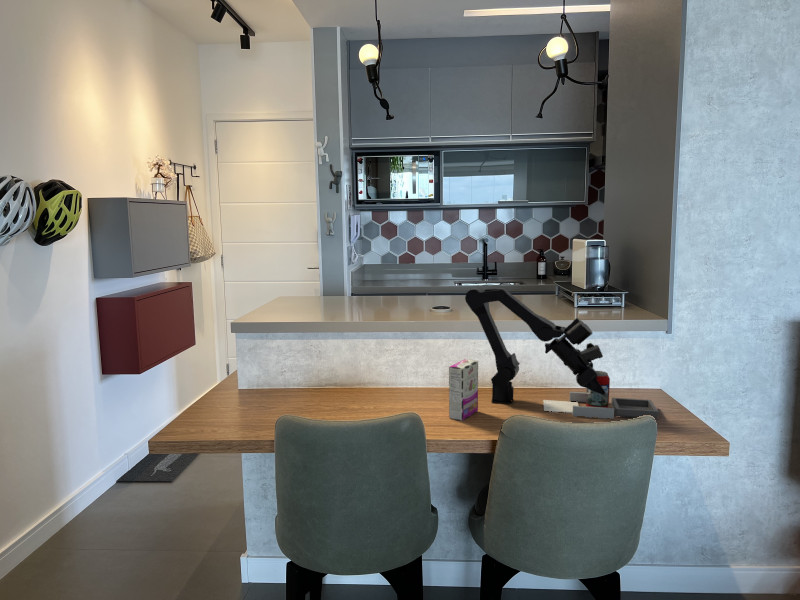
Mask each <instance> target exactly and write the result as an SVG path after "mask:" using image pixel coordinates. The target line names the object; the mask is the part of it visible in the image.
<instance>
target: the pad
mask: <svg viewBox="0 0 800 600" xmlns="http://www.w3.org/2000/svg"><path fill="white" fill-rule="evenodd" d="M542 402H543V412H544V411H549V412H548V413H558V412H564V413H563V414H573V406H580V405H579V402H571V401H567V400H565V401H564V400H552V399H551V400H550V399H549V400H547V399H543V401H542ZM551 411H552V412H551ZM565 412H566V413H565Z"/></svg>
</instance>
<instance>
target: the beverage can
mask: <svg viewBox="0 0 800 600" xmlns="http://www.w3.org/2000/svg"><path fill="white" fill-rule="evenodd" d="M595 371H596V372H597V380H598V382H599V383H600V385H601V386H602V388H603V389H604V391H605V394H604V395H602V394H599V393H597V392H595V391H592V390H590V389H587V388H586V393H587V398H586V402H585V404H586V405H585V406H587V407H603V408H609V403H610V401H609V400H610V389H611V387H610V384H611V383H610V381H611V379H610V376H609V374H608V372H606V371H603V370H595Z"/></svg>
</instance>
